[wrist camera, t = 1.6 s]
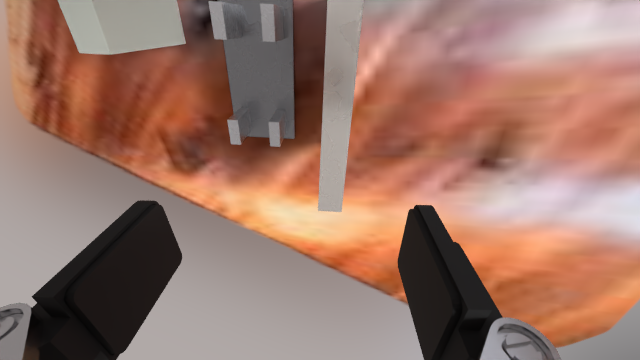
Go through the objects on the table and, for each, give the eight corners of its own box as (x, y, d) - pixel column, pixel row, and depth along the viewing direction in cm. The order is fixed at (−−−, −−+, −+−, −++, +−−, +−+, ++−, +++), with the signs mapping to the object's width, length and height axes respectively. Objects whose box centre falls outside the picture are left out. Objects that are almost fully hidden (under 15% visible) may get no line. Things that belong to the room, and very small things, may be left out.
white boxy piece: (218, -7, 27) (105, -37, 14) (349, -2, 27) (366, -26, 13) (238, 134, 36) (180, 202, 22) (337, 139, 35) (341, 211, 22)
